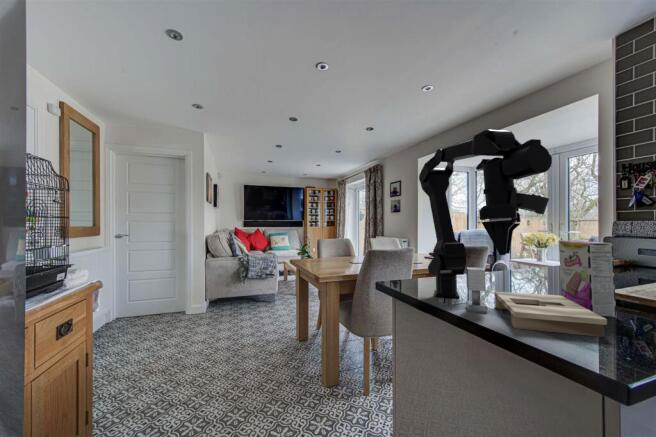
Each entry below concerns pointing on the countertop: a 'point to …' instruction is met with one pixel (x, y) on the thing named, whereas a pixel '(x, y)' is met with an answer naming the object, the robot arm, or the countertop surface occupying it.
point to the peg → (476, 289)
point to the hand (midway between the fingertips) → (504, 254)
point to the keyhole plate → (550, 314)
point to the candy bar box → (588, 275)
